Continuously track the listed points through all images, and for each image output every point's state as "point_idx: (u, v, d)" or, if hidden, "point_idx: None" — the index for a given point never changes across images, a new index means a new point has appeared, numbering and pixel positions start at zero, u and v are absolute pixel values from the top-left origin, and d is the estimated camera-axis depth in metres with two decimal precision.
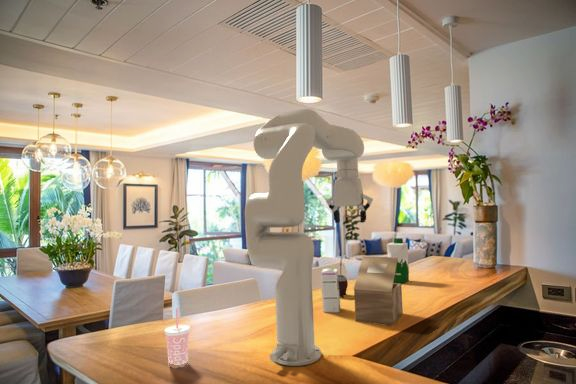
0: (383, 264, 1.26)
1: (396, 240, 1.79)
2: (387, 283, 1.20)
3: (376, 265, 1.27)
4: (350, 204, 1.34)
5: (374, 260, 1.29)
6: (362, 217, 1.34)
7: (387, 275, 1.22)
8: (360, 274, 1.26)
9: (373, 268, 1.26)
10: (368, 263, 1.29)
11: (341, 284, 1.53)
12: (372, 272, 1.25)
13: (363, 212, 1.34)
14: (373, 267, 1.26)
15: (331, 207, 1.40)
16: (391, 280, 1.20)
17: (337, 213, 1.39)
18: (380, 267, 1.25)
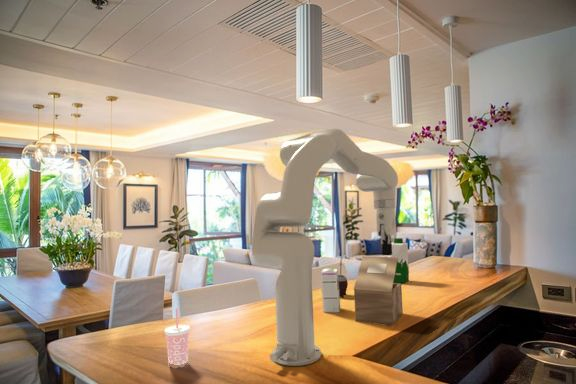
0: (383, 264, 1.26)
1: (396, 240, 1.79)
2: (387, 283, 1.20)
3: (376, 265, 1.27)
4: (394, 233, 1.38)
5: (374, 260, 1.29)
6: None
7: (387, 275, 1.22)
8: (360, 274, 1.26)
9: (373, 268, 1.26)
10: (368, 263, 1.29)
11: (341, 284, 1.53)
12: (372, 272, 1.25)
13: None
14: (373, 267, 1.26)
15: (387, 240, 1.36)
16: (391, 280, 1.20)
17: None
18: (380, 267, 1.25)
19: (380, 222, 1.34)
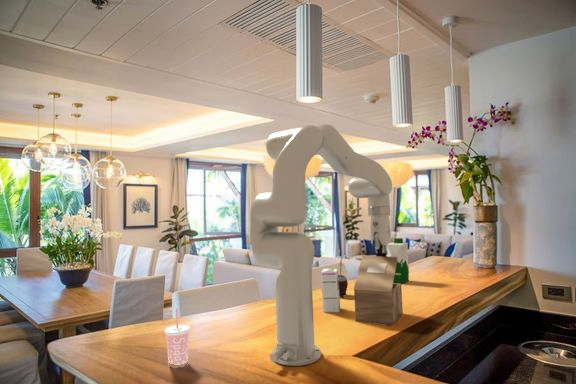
0: (383, 264, 1.26)
1: (396, 240, 1.79)
2: (387, 283, 1.19)
3: (376, 265, 1.26)
4: (389, 241, 1.31)
5: (374, 259, 1.29)
6: None
7: (386, 275, 1.22)
8: (360, 274, 1.26)
9: (373, 268, 1.26)
10: (368, 263, 1.28)
11: (341, 284, 1.53)
12: (372, 272, 1.25)
13: None
14: (373, 267, 1.26)
15: (381, 249, 1.29)
16: (391, 280, 1.20)
17: None
18: (380, 267, 1.25)
19: (374, 230, 1.27)
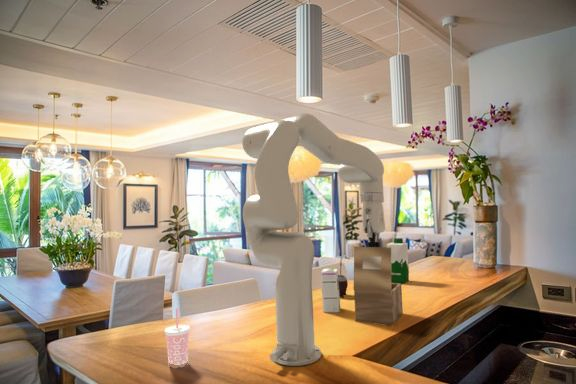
0: (377, 257, 1.20)
1: (396, 240, 1.79)
2: (385, 282, 1.18)
3: (370, 259, 1.21)
4: (383, 230, 1.24)
5: (367, 252, 1.22)
6: None
7: (383, 272, 1.19)
8: (357, 271, 1.23)
9: (368, 263, 1.21)
10: (362, 256, 1.23)
11: (341, 284, 1.53)
12: (368, 268, 1.21)
13: None
14: (368, 262, 1.22)
15: (374, 237, 1.22)
16: (389, 278, 1.18)
17: None
18: (375, 261, 1.21)
19: (366, 217, 1.20)
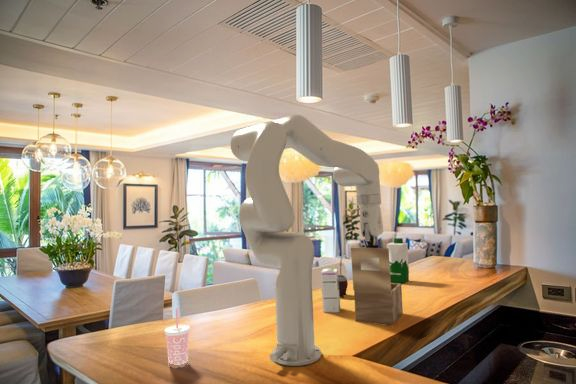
0: (375, 258, 1.18)
1: (396, 240, 1.79)
2: (385, 283, 1.17)
3: (368, 260, 1.19)
4: (381, 232, 1.21)
5: (364, 253, 1.20)
6: None
7: (382, 273, 1.17)
8: (355, 272, 1.22)
9: (366, 264, 1.20)
10: (359, 257, 1.21)
11: (341, 284, 1.53)
12: (366, 269, 1.20)
13: None
14: (366, 263, 1.20)
15: (372, 241, 1.19)
16: (388, 279, 1.17)
17: None
18: (373, 262, 1.19)
19: (364, 221, 1.17)
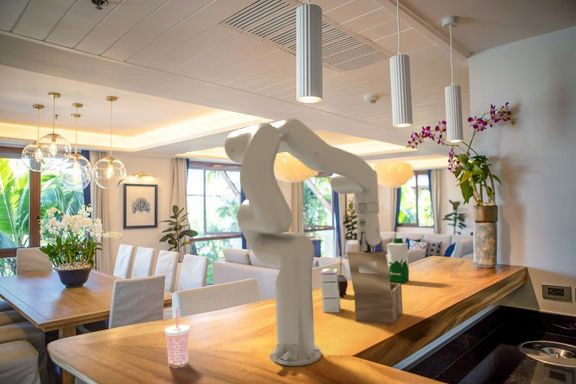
0: (372, 262, 1.16)
1: (396, 240, 1.79)
2: (384, 284, 1.16)
3: (366, 264, 1.17)
4: (378, 242, 1.19)
5: (361, 257, 1.17)
6: None
7: (381, 275, 1.16)
8: (354, 275, 1.20)
9: (364, 267, 1.18)
10: (356, 261, 1.18)
11: (341, 284, 1.53)
12: (364, 272, 1.18)
13: None
14: (363, 266, 1.18)
15: (369, 250, 1.16)
16: (387, 281, 1.16)
17: None
18: (370, 266, 1.16)
19: (361, 229, 1.15)
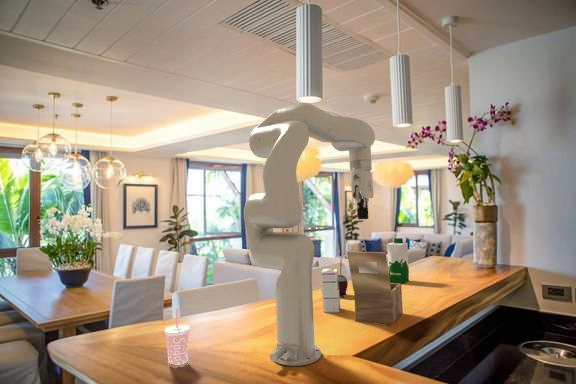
0: (372, 262, 1.16)
1: (396, 240, 1.79)
2: (384, 284, 1.16)
3: (366, 264, 1.17)
4: (371, 196, 1.31)
5: (361, 257, 1.17)
6: None
7: (381, 275, 1.16)
8: (354, 275, 1.20)
9: (364, 267, 1.18)
10: (356, 261, 1.18)
11: (341, 284, 1.53)
12: (364, 272, 1.18)
13: None
14: (363, 266, 1.17)
15: (362, 202, 1.29)
16: (387, 281, 1.16)
17: None
18: (370, 266, 1.16)
19: (355, 183, 1.27)
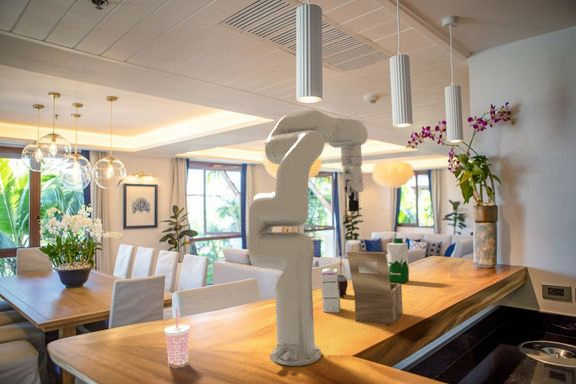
0: (372, 262, 1.16)
1: (396, 240, 1.79)
2: (384, 284, 1.16)
3: (366, 264, 1.17)
4: (361, 190, 1.42)
5: (361, 257, 1.17)
6: None
7: (381, 275, 1.16)
8: (354, 275, 1.20)
9: (364, 267, 1.18)
10: (356, 261, 1.18)
11: (341, 284, 1.53)
12: (364, 272, 1.18)
13: None
14: (363, 266, 1.17)
15: (353, 196, 1.39)
16: (387, 281, 1.16)
17: None
18: (370, 266, 1.16)
19: (346, 178, 1.38)
